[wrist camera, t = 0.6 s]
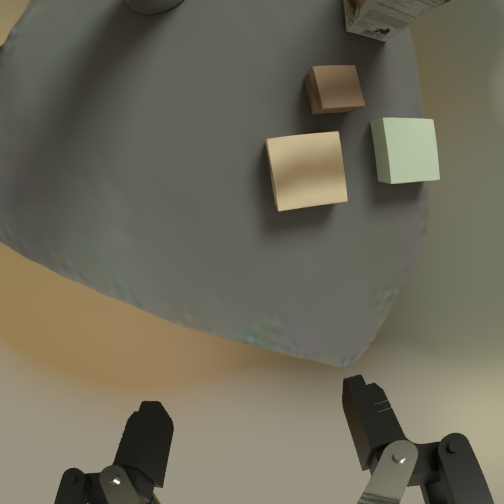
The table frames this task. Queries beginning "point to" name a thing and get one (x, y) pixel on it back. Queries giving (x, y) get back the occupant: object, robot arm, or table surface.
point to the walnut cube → (333, 89)
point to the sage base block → (405, 150)
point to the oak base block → (306, 170)
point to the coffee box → (385, 15)
